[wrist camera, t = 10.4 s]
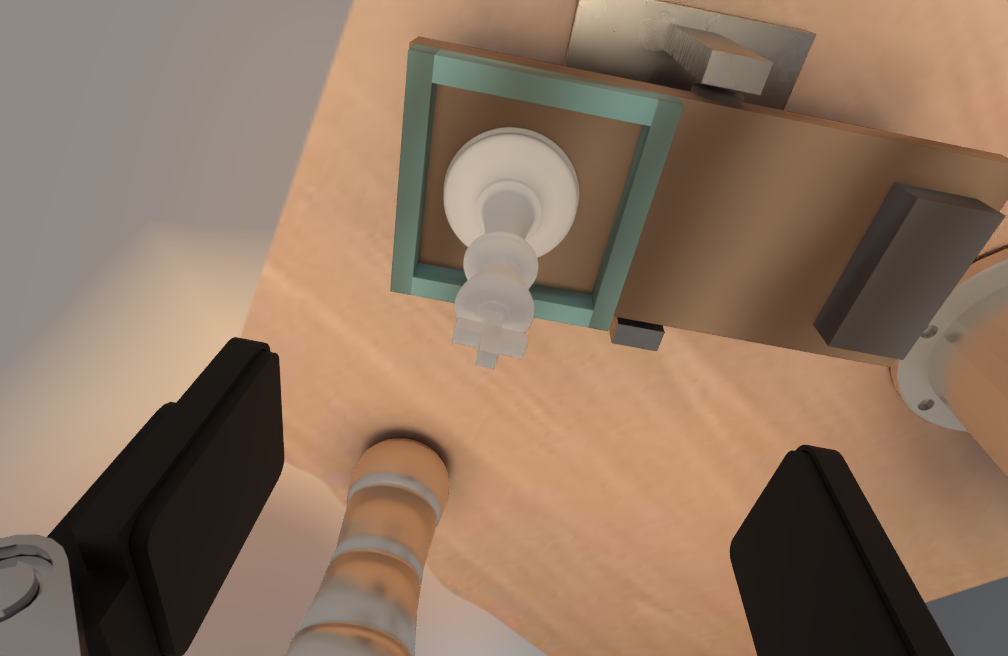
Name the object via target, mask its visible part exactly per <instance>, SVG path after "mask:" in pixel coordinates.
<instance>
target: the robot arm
mask: <svg viewBox="0 0 1008 656" xmlns="http://www.w3.org/2000/svg"><path fill="white" fill-rule="evenodd" d="M891 377H892V380H893V384H894V387H895V389H896V391H897V392H898V393H899V395H900V396H901V398H902V399H903V401H904V402H905V403H906V404H907V406H908V407H909V408H910V409H911V410H912V411H913V412H914V413H915V414H916V415H918V416H919V417H921V418H922V419H924V420H926V421H927V422H929V423H932V424H934V425H937V426H940V427H943V428H946V429H952V430H957V431H963V432H969V433H970V434H971V435H972V437H973V438H974V439H975V440H976V441H977V442H978V444H979V445H980V446H981V447H982V448H983V449H984V451H985V452H986V453H987V454H988V455H989V456H990V458H991V459H992V460H993V461H994V462H995V463H996V464H997V466H998V467H999V468H1000V469H1001V470H1002V471H1003V473H1004V474H1005V475H1006V476H1007V477H1008V248H1007V249H1004V250H1002V251H999V252H997V253H995V254H992V255H990V256H988V257H985V258H983V259H981V260H978V261H977V262H975V263H973V264H971V265H970V267H969V268H968V270H967V271H966V272H965V274H964V275H963V277H962V278H961V279H960V281H959V282H958V284H957V285H956V287H955V288H954V289H953V291H952V292H951V294H950V295H949V296H948V298H947V299H946V301H945V302H944V303H943V305H942V306H941V308H940V309H939V310H938V312H937V313H936V315H935V316H934V318H933V319H932V320H931V322H930V323H929V325H928V326H927V327H926V329H925V330H924V332H923V333H922V334H921V336H920V337H919V339H918V340H917V341H916V343H915V344H914V346H913V347H912V349H911V350H910V351H909V353H908V354H907V356H906V357H905V358H904V360H899V359H896V360H895V361H894V363H893V364H892V366H891ZM283 464H284V442H283V423H282V404H281V385H280V366H279V356H278V354H276V353H272V352H270V347H269V345H268V344H267V343H263V342H258V341H253V340H248V339H242V338H237V337H234V338H232V339H230V340H229V341H228V342H227V344H226V345H225V346H224V347H223V348H222V349H221V351H220V352H219V353H218V354H217V355H216V356H215V358H214V359H213V360H212V361H211V363H210V364H209V365H208V366H207V367H206V368H205V370H204V371H203V372H202V373H201V374H200V375H199V377H198V378H197V379H196V380H195V381H194V383H193V384H192V385H191V386H190V387H189V388H188V390H187V391H186V392H185V393H184V394H183V395H182V397H181V398H180V399H179V400H178V401H177V403H174V402H169V403H167V404H165V405H163V406H162V407H161V408H160V409H159V410H158V411H157V412H156V413H155V414H154V415H153V416H152V417H151V418H150V420H149V421H148V422H147V423H146V424H145V425H144V426H143V428H142V429H141V430H140V431H139V432H138V433H137V434H136V436H135V437H134V438H133V439H132V440H131V441H130V442H129V444H128V445H127V446H126V447H125V448H124V449H123V451H122V452H121V453H120V454H119V455H118V456H117V457H116V458H115V460H114V461H113V462H112V463H111V464H110V465H109V467H108V468H107V469H106V470H105V471H104V472H103V473H102V475H101V476H100V477H99V478H98V479H97V480H96V481H95V483H94V484H93V485H92V486H91V487H90V488H89V490H88V491H87V492H86V493H85V494H84V495H83V496H82V497H81V499H80V500H79V501H78V502H77V503H76V504H75V505H74V507H73V508H72V509H71V510H70V511H69V512H68V513H67V515H66V516H65V517H64V518H63V519H62V520H61V522H60V523H59V524H58V525H57V526H56V527H55V529H53V531H52V532H51V533H50V534H49V535H48V536H47V537H44V536H40V535H14V536H10V537H5V538H0V656H182V655H184V654H185V652H186V651H187V649H188V648H189V646H190V644H191V643H192V640H193V639H194V637H195V635H196V633H197V631H198V629H199V628H200V626H201V624H202V622H203V620H204V618H205V616H206V614H207V613H208V611H209V609H210V607H211V605H212V603H213V601H214V599H215V598H216V596H217V594H218V592H219V590H220V588H221V586H222V584H223V582H224V580H225V579H226V577H227V575H228V573H229V571H230V569H231V567H232V565H233V564H234V562H235V560H236V558H237V556H238V554H239V552H240V550H241V549H242V547H243V545H244V543H245V541H246V539H247V537H248V535H249V534H250V532H251V530H252V528H253V526H254V524H255V522H256V520H257V518H258V516H259V515H260V513H261V511H262V509H263V507H264V505H265V503H266V501H267V500H268V498H269V496H270V494H271V492H272V490H273V488H274V486H275V485H276V483H277V481H278V479H279V476H280V475H281V472H282V468H283ZM730 559H731V563H732V567H733V570H734V574H735V577H736V581H737V584H738V588H739V592H740V595H741V599H742V602H743V606H744V609H745V613H746V616H747V620H748V624H749V627H750V631H751V634H752V638H753V641H754V645H755V648H756V652H757V655H758V656H954V654H953V653H952V651H951V649H950V647H949V646H948V644H947V642H946V640H945V638H944V636H943V635H942V633H941V631H940V629H939V628H938V626H937V624H936V622H935V620H934V619H933V617H932V615H931V613H930V612H929V610H928V608H927V606H926V604H925V603H924V601H923V599H922V597H921V595H920V594H919V592H918V590H917V588H916V587H915V585H914V583H913V581H912V579H911V578H910V576H909V574H908V572H907V570H906V569H905V567H904V565H903V563H902V562H901V560H900V558H899V556H898V554H897V553H896V551H895V549H894V547H893V545H892V544H891V542H890V540H889V538H888V537H887V535H886V533H885V531H884V529H883V528H882V526H881V524H880V522H879V520H878V519H877V517H876V515H875V513H874V512H873V510H872V508H871V506H870V504H869V503H868V501H867V499H866V497H865V496H864V494H863V492H862V490H861V488H860V487H859V485H858V483H857V481H856V479H855V478H854V476H853V474H852V472H851V471H850V469H849V467H848V465H847V463H846V462H845V460H844V458H843V457H842V455H841V454H840V453H839V452H837V451H836V450H831V449H826V448H820V447H815V446H810V445H802V446H800V447H798V448H797V450H796V451H790V452H788V453H787V454H786V456H785V457H784V459H783V461H782V462H781V464H780V465H779V467H778V468H777V470H776V472H775V473H774V475H773V476H772V478H771V479H770V481H769V483H768V484H767V486H766V487H765V489H764V490H763V492H762V494H761V495H760V497H759V498H758V500H757V501H756V503H755V505H754V506H753V508H752V509H751V511H750V512H749V514H748V516H747V517H746V519H745V520H744V522H743V523H742V525H741V527H740V528H739V530H738V531H737V533H736V535H735V536H734V538H733V540H732V542H731V545H730Z"/></svg>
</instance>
